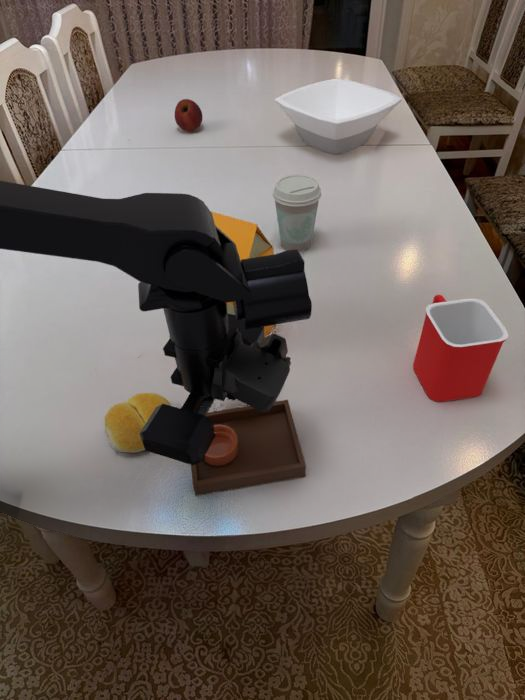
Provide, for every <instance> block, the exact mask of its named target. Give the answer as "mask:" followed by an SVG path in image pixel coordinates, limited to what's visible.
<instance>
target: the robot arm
mask: <svg viewBox="0 0 525 700" xmlns="http://www.w3.org/2000/svg"><path fill="white" fill-rule="evenodd" d="M210 211H211V210H210V208H209V207H208V205H207V204H206V203H205V201H203V200H202V199H201V198H199V197H197V196H194V195H192V194H188V193H175V192H174V193H173V192H143V193H139V194H134V195H130V196H127V197H122V198H102V197H96V196H90V195H84V194H79V193H74V192H68V191H61V190H56V189H50V188H45V187H40V186H39V187H38V186H34V185H33V186H32V185H27V184H21V183H16V182H10V181H5V180H0V250H5V251H13V252H20V253H28V254H35V255H43V256H50V257H59V258H67V259H74V260H79V261H80V260H82V261H87V262H88V261H90V262H95V263H101V264H104V265H108V266H111V267H114V268H117V269H118V270H119V271H121V272H123V273H124V274H126V275H127V276H130V277H131V278H132V279H134V280H136V281H138V284H137V289H138V308H139V311H140V312H149V311H150V312H151V311H157V310H163V313H164V318H165V322H166V326H167V330H168V334H169V339H168V340H167V341H166V343H165V344H164V346H163V348H162V349H163V353H164V356H166V357H171V358H174V361H175V364H176V368H175V369H174V371H173V372H172V374H171V376H170V380H171V383H172V385H177V386H181V387H183V389H184V390H185V391H186V392H188V393H189V394H188V396H187V397H186V399H185V401H184V403H183V405H182V406H181V408H180V407H177V406H174V405H172V406H170V405H166V404H161V405H159V406H158V407H156V408H155V410H154V412H153V413H152V415H151V416H150V418H149V419H148V421H147V422H146V424H145V426H144V427H143V429H142V430H141V432H140V433H139V434H140V437H141V440H142V442H143V445H144V448H145V450H144V451H146V452H148V453H151V454H154V455H158V456H161V457H165V458H168V459H171V460H174V461H178V462H181V463H183V464H187V465H190V466H191V465H195V464H197V463H200V462H204V460H205V455H206V453H207V451H208V449H209V447H210V445H211V443H212V441H213V439H214V437H215V435H216V434H214V425H213V423H212V422H211V421H210V420H209V419H208V418H206V417H205V416H206V415H207V413H208V412H210V409H211V408H212V405H213V404H214V402H215V401H216V400H218V401H222V402H225V400H226V398H227V399H228V400H230V401H236V400H237V401H240V402H241V403H243V404H245V405H246V406H251V407H253V408H254V409H255V410H257V411H259V412H262V413H265V412H268V411H269V410H270V409H271V407H272V406H273V404H274V402H276V401H277V399H278V397H279V396H280V394H281V392H282V390H283V388H284V385H285V383H286V380H287V378H288V376H289V374H290V371H291V368H290V367H291V365H292V362H291V357H289V356H287V354H288V344H287V339H286V338H285V337H283V336H281V335H279V334H277V333H272V334H270V335H267V336H266V338H265V336H264V327H265V326H271V325H275V326H278V325H282V324H288V323H294V322H299V321H306V320H309V319H310V318H311V316H312V308H313V305H312V304H313V303H312V299H311V297H310V293H309V286H308V281H307V277H306V272H305V260H304V258H303V255H302V254H301V251H299V250H298V249H294V250H284V251H281V252H278V253H274V255H268V256H261V257H255V258H248V259H242V260H240V257H239V254H238V251H237V247H236V244H235V243H234V242H233V241H232V240H231V239H230V238H229V237H228V236H226V235H225V234H224V233H223V232H222V231H221V230H220V229H219V228H218V227H217V226H215V223H214V219H213V216H212V213H211V212H212V211H211V212H210ZM226 302H233V307H234V312H235V315H232V314H228V312H227V304H226Z"/></svg>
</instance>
